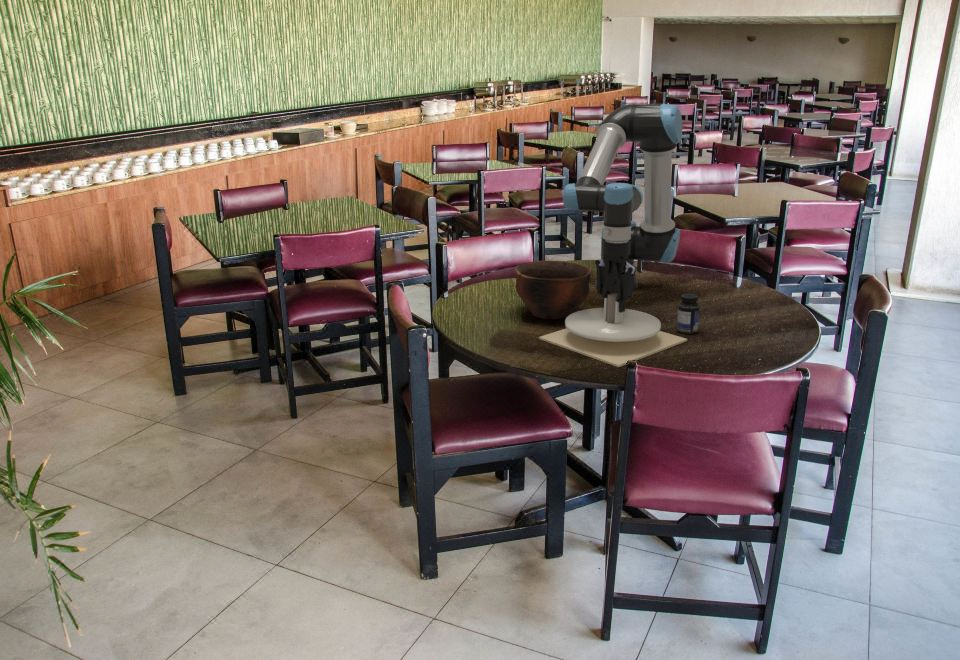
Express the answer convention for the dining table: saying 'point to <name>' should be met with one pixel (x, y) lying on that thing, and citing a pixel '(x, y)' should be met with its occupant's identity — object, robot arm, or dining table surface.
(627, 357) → the mat
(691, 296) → the pill bottle
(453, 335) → the dining table surface
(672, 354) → the dining table surface
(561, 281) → the bowl
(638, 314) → the lid
